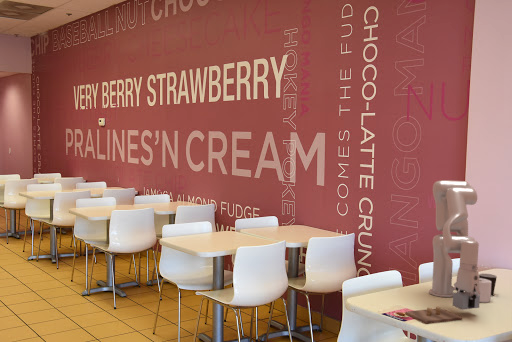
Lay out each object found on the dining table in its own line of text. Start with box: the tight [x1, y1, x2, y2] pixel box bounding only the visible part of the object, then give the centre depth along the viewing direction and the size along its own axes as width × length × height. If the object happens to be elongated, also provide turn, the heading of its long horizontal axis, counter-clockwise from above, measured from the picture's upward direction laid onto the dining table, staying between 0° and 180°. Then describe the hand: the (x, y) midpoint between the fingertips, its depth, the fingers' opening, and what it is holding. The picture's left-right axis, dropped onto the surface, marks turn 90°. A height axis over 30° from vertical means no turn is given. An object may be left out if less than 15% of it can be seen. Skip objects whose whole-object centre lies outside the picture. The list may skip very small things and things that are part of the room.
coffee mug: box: [479, 273, 497, 296], centre depth 281 cm, size 12×9×10 cm
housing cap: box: [452, 291, 481, 311], centre depth 241 cm, size 10×6×6 cm, turn 112°
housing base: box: [404, 306, 463, 325], centre depth 236 cm, size 20×14×4 cm
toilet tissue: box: [475, 278, 492, 303], centre depth 267 cm, size 11×12×10 cm
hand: (465, 304), depth 242 cm, fingers closed on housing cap, 6 cm apart
